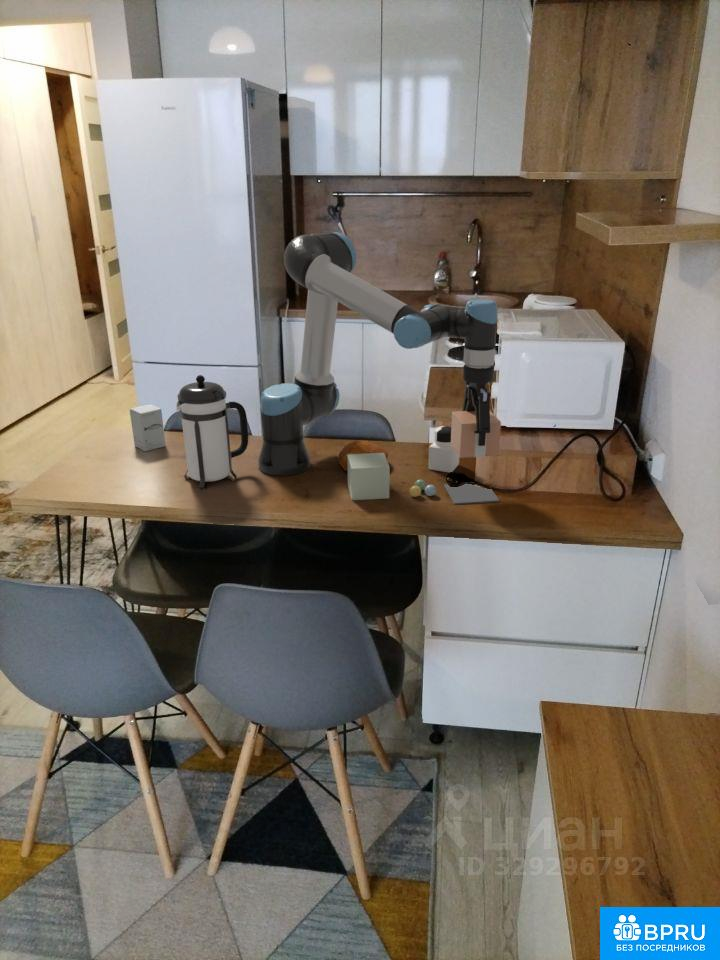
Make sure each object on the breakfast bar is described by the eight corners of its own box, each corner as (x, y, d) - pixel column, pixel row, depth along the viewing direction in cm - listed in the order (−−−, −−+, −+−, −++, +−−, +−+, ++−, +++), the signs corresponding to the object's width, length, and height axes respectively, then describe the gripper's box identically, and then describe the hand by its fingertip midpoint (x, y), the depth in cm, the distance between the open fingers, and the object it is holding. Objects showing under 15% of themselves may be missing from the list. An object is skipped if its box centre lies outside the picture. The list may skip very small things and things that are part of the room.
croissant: (333, 479, 200) (331, 455, 196) (347, 453, 212) (345, 430, 208) (382, 483, 196) (381, 458, 192) (393, 456, 209) (392, 432, 205)
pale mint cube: (351, 500, 181) (351, 468, 178) (347, 484, 191) (347, 454, 187) (389, 498, 182) (389, 466, 179) (383, 482, 192) (383, 452, 188)
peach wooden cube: (459, 457, 175) (461, 424, 171) (450, 444, 184) (452, 411, 180) (498, 455, 176) (501, 422, 172) (487, 442, 185) (489, 409, 181)
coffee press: (229, 492, 187) (219, 384, 174) (174, 488, 190) (160, 381, 177) (251, 468, 202) (243, 367, 190) (200, 464, 205) (189, 364, 193)
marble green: (415, 492, 186) (415, 482, 184) (413, 488, 188) (413, 478, 187) (426, 492, 186) (426, 481, 185) (424, 487, 189) (424, 477, 187)
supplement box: (145, 452, 214) (139, 413, 209) (134, 446, 219) (128, 408, 214) (166, 446, 219) (161, 408, 214) (155, 440, 224) (150, 403, 219)
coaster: (454, 504, 179) (454, 503, 178) (443, 485, 190) (443, 484, 189) (499, 501, 180) (499, 500, 180) (486, 483, 191) (486, 481, 191)
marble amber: (410, 499, 182) (411, 488, 181) (408, 494, 185) (408, 484, 183) (422, 498, 182) (422, 488, 181) (419, 493, 185) (420, 483, 184)
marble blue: (425, 498, 182) (426, 487, 181) (423, 493, 185) (423, 483, 184) (436, 497, 183) (437, 487, 181) (434, 492, 185) (434, 482, 184)
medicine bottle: (459, 464, 203) (461, 426, 198) (451, 473, 197) (453, 433, 193) (436, 461, 206) (437, 422, 201) (427, 469, 200) (429, 430, 195)
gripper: (507, 375, 161) (501, 464, 170) (481, 353, 181) (476, 433, 190) (476, 377, 160) (471, 466, 169) (453, 354, 181) (449, 435, 189)
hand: (474, 448), depth 180 cm, fingers closed on peach wooden cube, 10 cm apart
